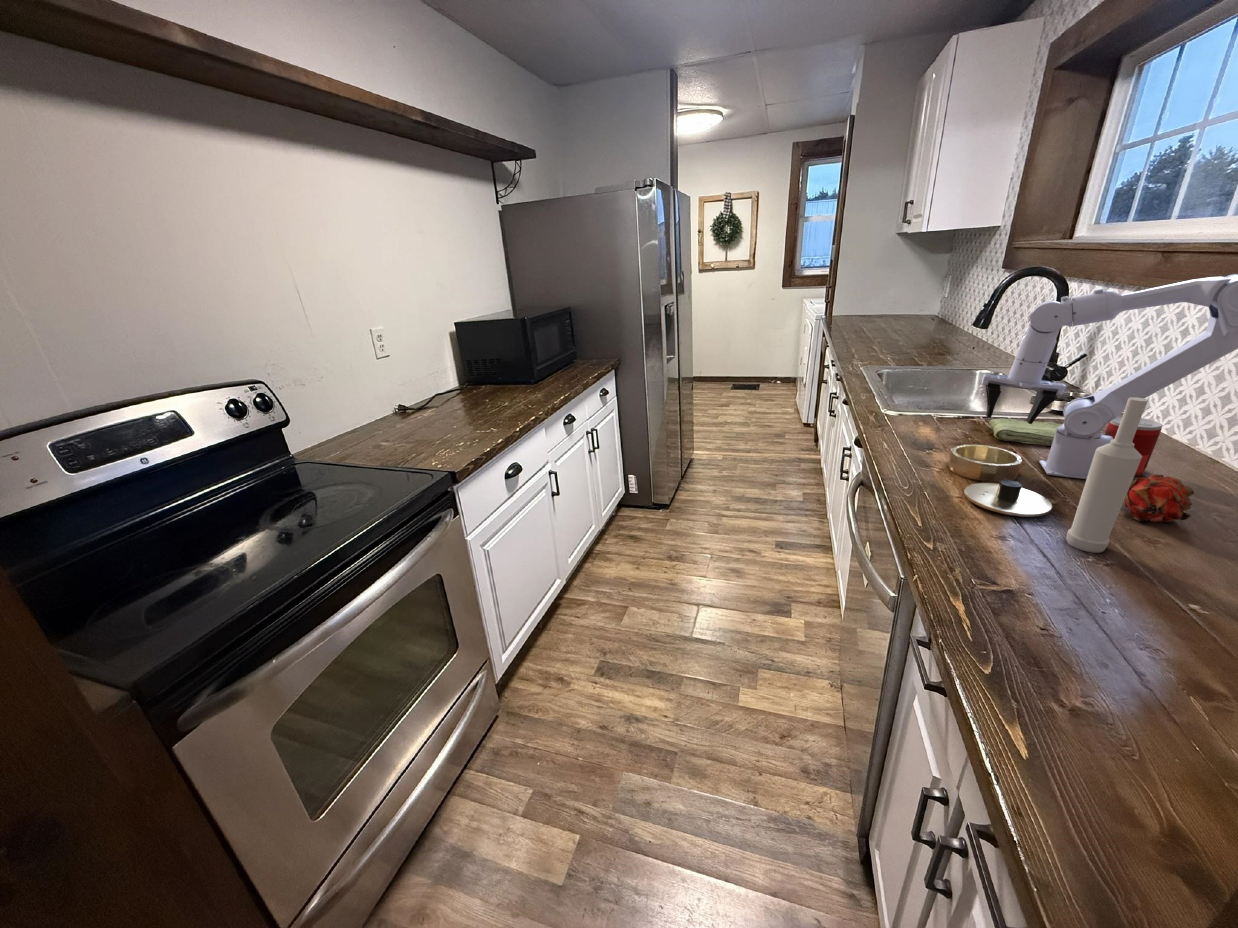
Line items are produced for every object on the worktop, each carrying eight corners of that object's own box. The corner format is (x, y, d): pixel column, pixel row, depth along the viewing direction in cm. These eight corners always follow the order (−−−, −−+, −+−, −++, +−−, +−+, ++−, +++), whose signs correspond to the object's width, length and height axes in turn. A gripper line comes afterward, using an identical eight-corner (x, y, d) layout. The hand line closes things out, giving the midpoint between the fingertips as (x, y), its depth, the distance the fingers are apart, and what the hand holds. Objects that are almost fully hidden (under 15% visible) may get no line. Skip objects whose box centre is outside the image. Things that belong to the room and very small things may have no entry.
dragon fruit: (1156, 513, 94) (1144, 545, 87) (1114, 480, 96) (1100, 509, 90) (1210, 491, 87) (1201, 523, 80) (1164, 456, 89) (1152, 485, 83)
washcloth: (1083, 450, 119) (1087, 437, 118) (993, 441, 127) (996, 429, 126) (1068, 433, 130) (1072, 421, 129) (986, 426, 138) (989, 415, 136)
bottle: (1096, 539, 84) (1150, 395, 74) (1113, 555, 79) (1172, 404, 70) (1059, 535, 86) (1106, 394, 76) (1073, 550, 81) (1125, 403, 72)
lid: (1041, 494, 100) (1047, 475, 98) (1059, 525, 88) (1066, 504, 87) (960, 483, 106) (964, 465, 104) (967, 511, 94) (972, 491, 93)
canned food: (1153, 477, 104) (1173, 427, 100) (1108, 475, 106) (1126, 427, 102) (1127, 463, 111) (1144, 416, 107) (1085, 462, 113) (1101, 415, 109)
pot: (1011, 464, 113) (1015, 448, 112) (1022, 486, 103) (1027, 468, 102) (946, 457, 119) (949, 441, 117) (950, 477, 109) (954, 460, 107)
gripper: (994, 359, 106) (972, 419, 112) (1079, 368, 100) (1052, 431, 106) (989, 353, 112) (969, 410, 118) (1069, 361, 106) (1044, 421, 112)
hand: (1008, 419), depth 112 cm, fingers open, 7 cm apart
